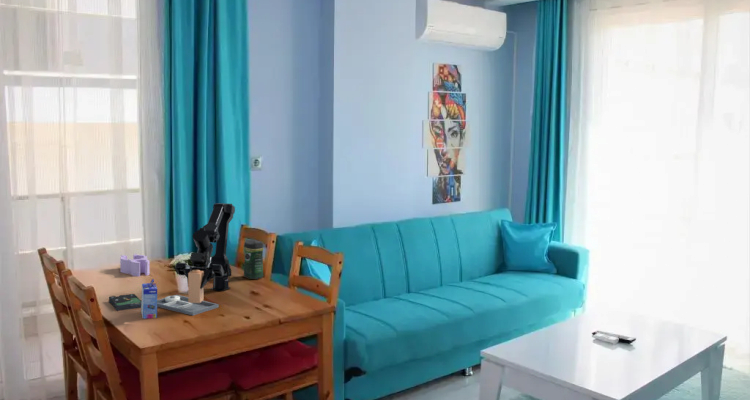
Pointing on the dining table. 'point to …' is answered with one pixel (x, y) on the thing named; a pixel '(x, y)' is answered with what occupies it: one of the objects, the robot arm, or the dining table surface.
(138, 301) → the disk drive
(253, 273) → the coffee jar
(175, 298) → the grey rectangular tray
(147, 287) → the ink cartridge box
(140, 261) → the clip
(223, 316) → the dining table surface
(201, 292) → the block
